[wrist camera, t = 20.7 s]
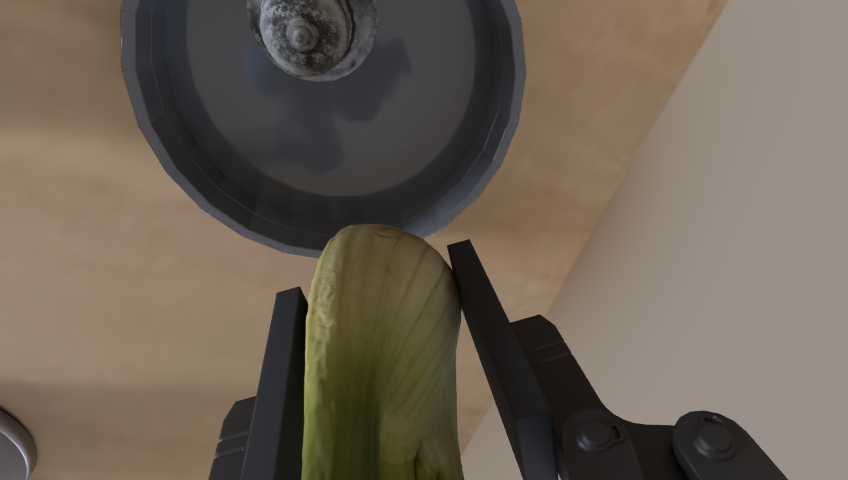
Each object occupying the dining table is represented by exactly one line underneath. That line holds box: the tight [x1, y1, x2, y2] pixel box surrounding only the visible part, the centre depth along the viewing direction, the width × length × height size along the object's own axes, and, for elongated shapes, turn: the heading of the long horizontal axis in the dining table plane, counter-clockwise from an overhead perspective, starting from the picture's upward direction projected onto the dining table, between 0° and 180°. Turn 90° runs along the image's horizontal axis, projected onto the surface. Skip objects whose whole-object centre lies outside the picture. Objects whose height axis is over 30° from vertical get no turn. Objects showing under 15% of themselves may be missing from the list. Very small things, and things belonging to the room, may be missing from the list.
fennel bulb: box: [301, 224, 464, 480], centre depth 11 cm, size 6×5×12 cm
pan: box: [120, 0, 526, 258], centre depth 24 cm, size 19×19×4 cm
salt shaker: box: [247, 0, 378, 82], centre depth 18 cm, size 6×6×12 cm
